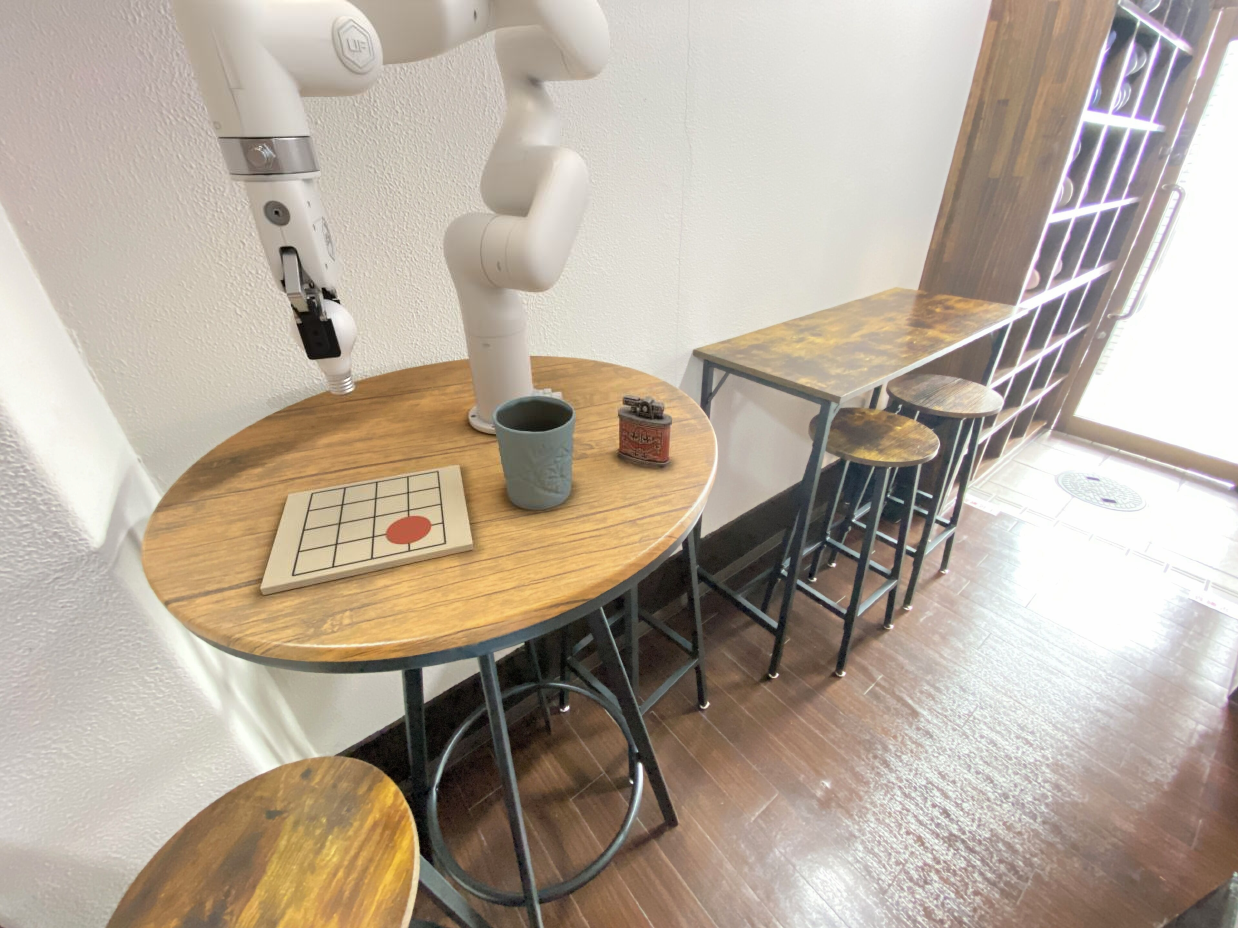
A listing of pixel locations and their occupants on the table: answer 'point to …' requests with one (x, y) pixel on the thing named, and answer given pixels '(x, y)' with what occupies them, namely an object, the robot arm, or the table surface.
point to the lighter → (644, 432)
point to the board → (368, 528)
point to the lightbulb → (346, 335)
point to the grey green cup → (536, 450)
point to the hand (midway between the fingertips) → (329, 344)
